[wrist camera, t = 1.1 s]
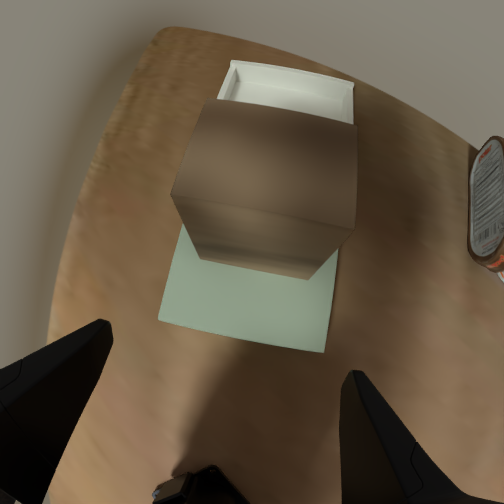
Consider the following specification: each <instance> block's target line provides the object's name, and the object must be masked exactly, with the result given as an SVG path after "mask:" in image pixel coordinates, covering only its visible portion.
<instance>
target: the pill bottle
mask: <svg viewBox="0 0 504 504" xmlns="http://www.w3.org/2000/svg"><path fill="white" fill-rule="evenodd" d="M497 274H498V276H499V277H500V279H501V280H502V281H503V282H504V271H503V272H499V273H497Z"/></svg>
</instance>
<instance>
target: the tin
mask: <svg viewBox="0 0 504 504" xmlns="http://www.w3.org/2000/svg"><path fill="white" fill-rule="evenodd" d="M468 249H469V253H470V255H471V257H472V259H473V260H474V261H475V262H476V263H478V264H480V265H482V266H484V267H486V268H488V269H489V270H490V271H492V272H495V273H499V272H503V271H504V139H503V138H502V137H499V136H492V137H490V138H489V140H488V141H487V142H486V143H485V144H484V145H483V146H482V148H481V149H480V150H479V152H478V153H477V154H476V156H475V159H474V161H473V164H472V168H471V172H470V177H469V223H468Z"/></svg>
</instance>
